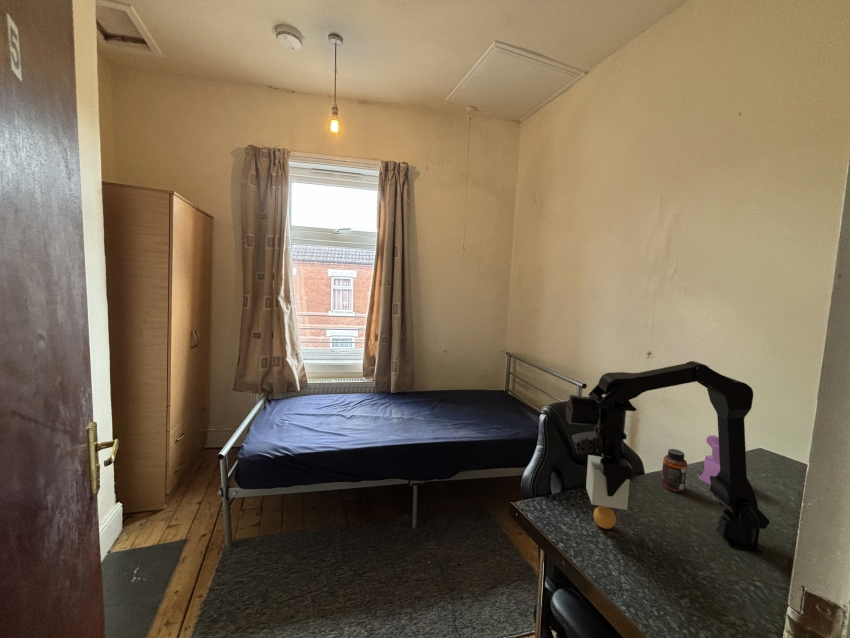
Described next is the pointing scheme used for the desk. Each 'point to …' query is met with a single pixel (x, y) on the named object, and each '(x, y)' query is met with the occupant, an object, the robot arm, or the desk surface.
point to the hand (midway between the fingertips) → (605, 486)
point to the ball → (604, 517)
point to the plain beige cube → (604, 487)
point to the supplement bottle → (674, 471)
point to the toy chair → (711, 460)
